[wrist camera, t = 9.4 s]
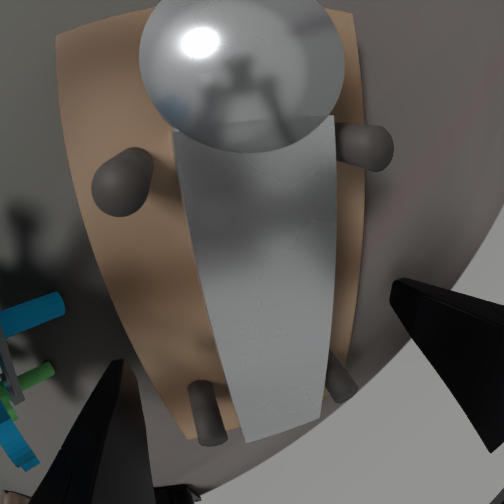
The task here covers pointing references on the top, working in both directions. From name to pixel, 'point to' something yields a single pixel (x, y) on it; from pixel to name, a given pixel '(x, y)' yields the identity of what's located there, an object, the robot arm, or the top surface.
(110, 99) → the peg rack
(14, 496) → the plant pot
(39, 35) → the top surface
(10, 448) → the gear
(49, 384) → the top surface
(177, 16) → the ball knob lever
